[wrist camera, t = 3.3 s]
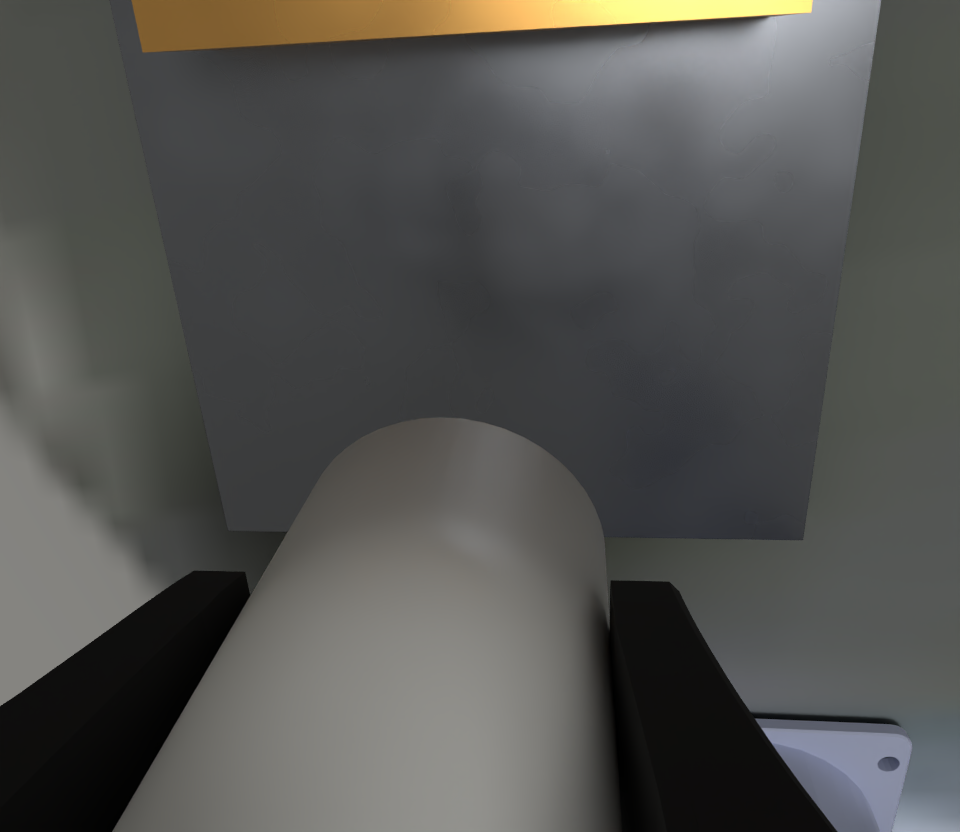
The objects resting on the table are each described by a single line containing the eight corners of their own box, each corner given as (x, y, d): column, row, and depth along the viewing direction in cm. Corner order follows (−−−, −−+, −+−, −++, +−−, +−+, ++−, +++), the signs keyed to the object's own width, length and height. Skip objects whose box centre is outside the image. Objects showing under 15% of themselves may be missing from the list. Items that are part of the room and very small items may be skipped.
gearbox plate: (791, 514, 18) (837, 615, 15) (243, 508, 20) (180, 598, 16) (983, -906, 9) (1187, -1372, 6) (-15, -718, 11) (-250, -1020, 8)
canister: (603, 677, 11) (642, 1527, 5) (325, 666, 11) (21, 1424, 5) (608, 416, 9) (676, 1198, 3) (281, 417, 10) (-246, 1093, 4)
